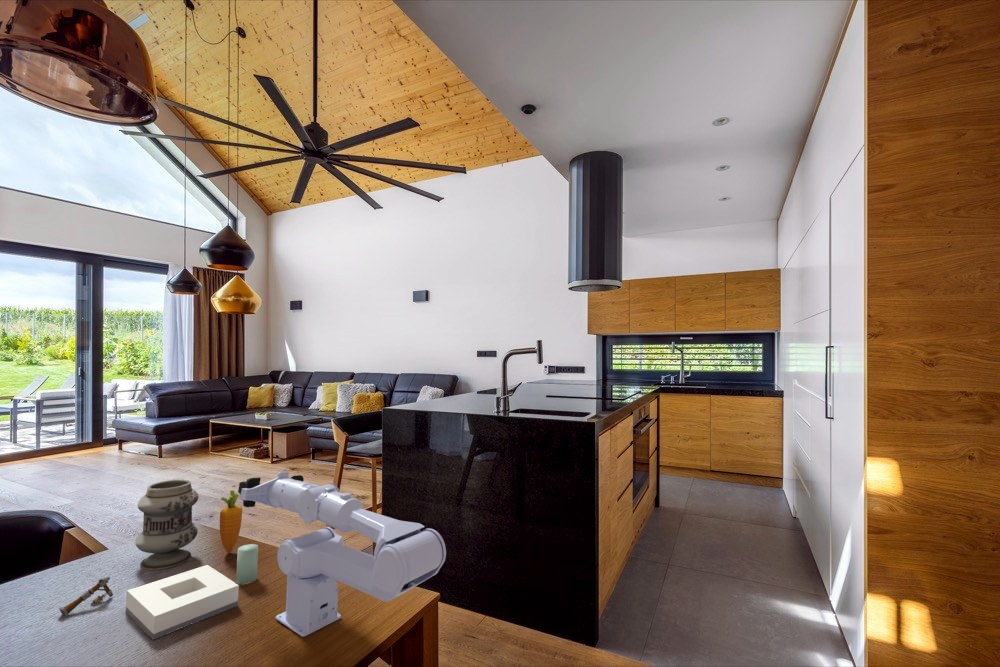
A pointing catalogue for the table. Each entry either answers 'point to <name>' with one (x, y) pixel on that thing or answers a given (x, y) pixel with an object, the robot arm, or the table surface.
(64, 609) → the wooden post with brackets
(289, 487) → the robot arm
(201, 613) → the socket block
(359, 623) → the table surface
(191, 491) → the apothecary jar
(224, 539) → the carrot
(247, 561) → the peg
